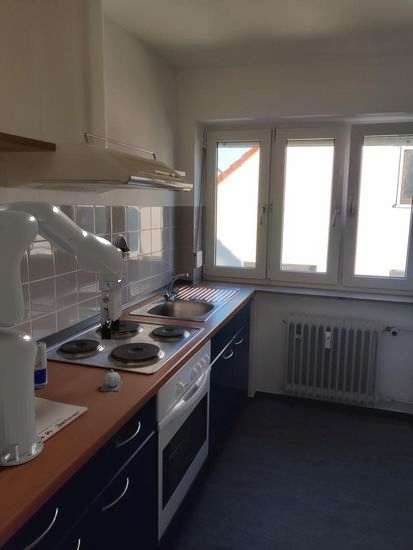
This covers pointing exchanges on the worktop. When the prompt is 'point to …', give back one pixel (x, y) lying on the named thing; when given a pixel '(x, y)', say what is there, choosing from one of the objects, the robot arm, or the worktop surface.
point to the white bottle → (40, 366)
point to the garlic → (112, 379)
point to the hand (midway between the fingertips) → (110, 334)
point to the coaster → (115, 388)
